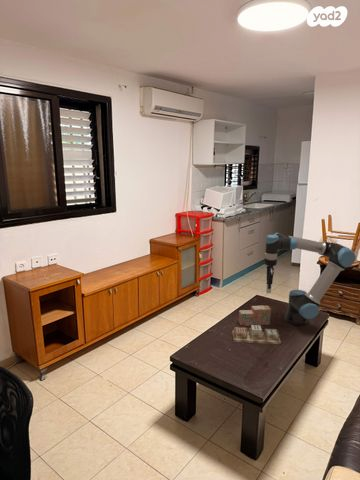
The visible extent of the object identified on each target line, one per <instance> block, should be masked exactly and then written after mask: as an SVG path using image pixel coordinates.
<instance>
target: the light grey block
mask: <svg viewBox="0 0 360 480" xmlns="http://www.w3.org/2000/svg"><path fill="white" fill-rule="evenodd" d="M265 329H266V332H267V335H277V332H276V330H267V329H268V328H265Z"/></svg>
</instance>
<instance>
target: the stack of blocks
mask: <svg viewBox="0 0 360 480" xmlns="http://www.w3.org/2000/svg"><path fill="white" fill-rule="evenodd" d="M271 312H272V308H271V307H270V306H269V305H251V309H244V310H243V309H242V310H241V309H240V310H239V311H238V323H239V325H240V327H241V326H242V327H244V326H251V325H259V326H270V324H271V315H272V313H271Z"/></svg>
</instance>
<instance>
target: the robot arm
mask: <svg viewBox="0 0 360 480" xmlns="http://www.w3.org/2000/svg"><path fill="white" fill-rule="evenodd" d="M296 249H298V250H303V251H307V252H312V253H316V254H318V255H320V256H324V257H326V258H328V259H327V262H328V263H327V264H326V267H325V268H324V269H323V271H322V272H321V274H320V275H319V277H318V278H317V279H316V281H315V282H314V284H313V286H312V287H310V288H311V289H310V290H309V292H308V293H307V291H306V290H302V289H292V290H290V291H289V293H288V305H287V306H288V307H287V311H286V312H285V314H284V315H285V316H284V321H285V322H286V323H288V324H290V325H293V326H304V325H306V324H307V322H308V321H307V320H311V319H314V318H316V317H317V316H318V315H319V311H320V308H319V307H320V306H321V300H322V298H323V297H324V295H325V294H326V292H327V291H328V289H330V287H331V285H332V284H333V282H334V281H335V280H336V278H337V277H338V275H339V274H340V273H341V272H342V271H345V270H346V268H349V267H351V266H352V265H354V264H355V262H356V254H355V251H354V250H353V249H351V248H349V247H347V246H344V245H342V244H340V243H337V242H330V241H329V242H328V241H324V240H321V241H316V240H312V239H307V238H301V237H297V236H292V235H288V234H283V233H280V232H275V233H273V234H268V235H266V239H265V253H264V265H265V266H266V290H265V292H266V294H272V285H273V279H274V273H275V272H274V270H275V268H274V266H277V264H278V263H277V262H278V252H279V251H283V250H284V251H286V250H287V251H291V250H296Z"/></svg>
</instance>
